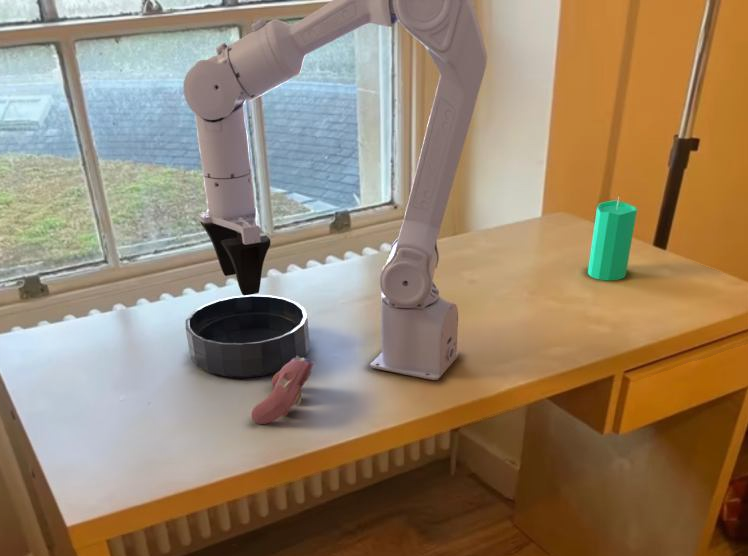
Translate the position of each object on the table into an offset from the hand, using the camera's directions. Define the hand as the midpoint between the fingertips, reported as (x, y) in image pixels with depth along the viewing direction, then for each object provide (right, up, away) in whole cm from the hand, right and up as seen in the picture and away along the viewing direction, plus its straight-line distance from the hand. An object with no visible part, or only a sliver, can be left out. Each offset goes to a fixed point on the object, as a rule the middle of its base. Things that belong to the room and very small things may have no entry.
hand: (241, 283), depth 103 cm
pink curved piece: (+6, -17, -6) cm, 19 cm away
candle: (+55, +9, +26) cm, 61 cm away
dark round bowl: (0, -8, +6) cm, 10 cm away
